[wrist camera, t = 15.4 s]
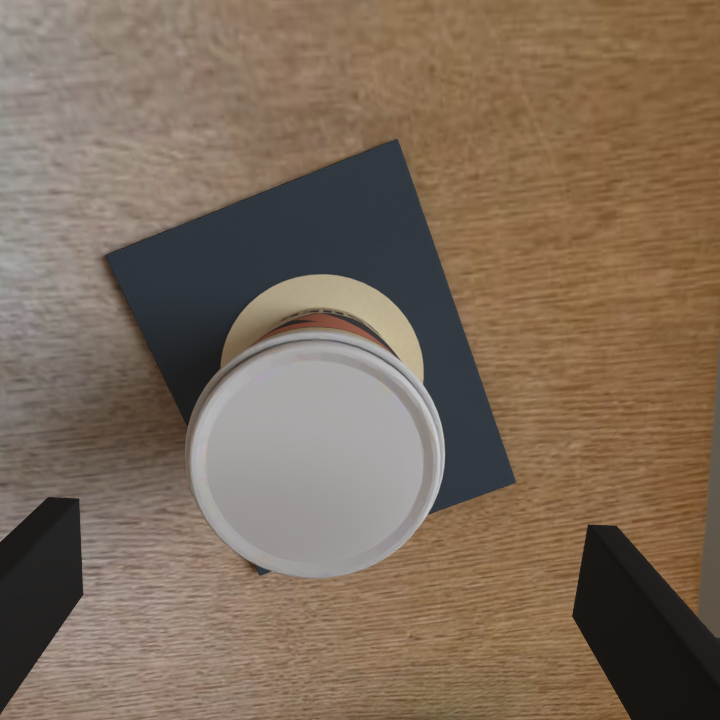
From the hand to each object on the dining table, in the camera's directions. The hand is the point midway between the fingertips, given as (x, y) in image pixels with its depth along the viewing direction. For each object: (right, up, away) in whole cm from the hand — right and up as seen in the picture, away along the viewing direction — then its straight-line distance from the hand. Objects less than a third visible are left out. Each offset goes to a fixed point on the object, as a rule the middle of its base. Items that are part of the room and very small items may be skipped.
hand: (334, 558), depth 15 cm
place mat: (-1, +4, +17) cm, 18 cm away
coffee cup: (-1, +4, +17) cm, 18 cm away
